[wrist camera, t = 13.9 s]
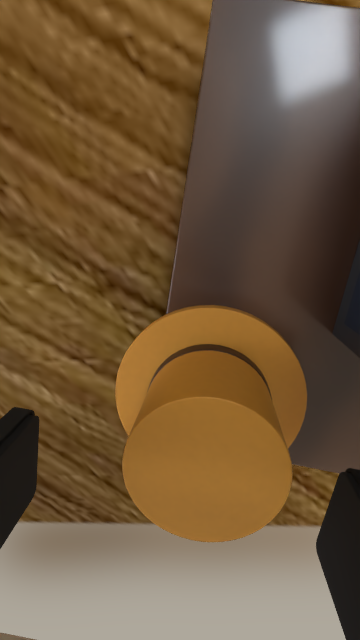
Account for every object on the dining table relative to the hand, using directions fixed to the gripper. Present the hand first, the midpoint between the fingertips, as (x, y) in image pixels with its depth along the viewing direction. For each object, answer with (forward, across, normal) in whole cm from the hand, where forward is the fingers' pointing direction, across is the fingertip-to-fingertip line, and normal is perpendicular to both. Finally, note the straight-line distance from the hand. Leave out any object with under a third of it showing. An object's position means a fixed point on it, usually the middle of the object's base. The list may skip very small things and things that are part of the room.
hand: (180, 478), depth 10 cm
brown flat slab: (+10, -6, -6) cm, 13 cm away
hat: (+6, -1, 0) cm, 6 cm away
